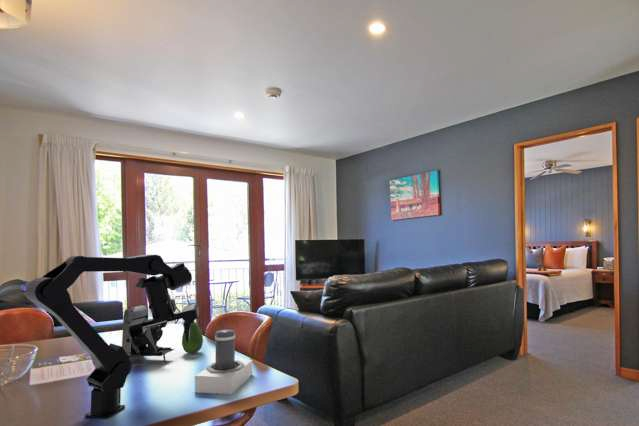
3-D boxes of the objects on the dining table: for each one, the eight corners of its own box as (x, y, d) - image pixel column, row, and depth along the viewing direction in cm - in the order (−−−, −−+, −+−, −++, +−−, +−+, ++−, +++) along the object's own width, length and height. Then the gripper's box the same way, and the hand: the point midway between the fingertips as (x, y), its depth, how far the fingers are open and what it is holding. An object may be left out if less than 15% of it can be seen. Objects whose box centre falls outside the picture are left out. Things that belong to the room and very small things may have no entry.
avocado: (180, 352, 147) (180, 321, 148) (201, 349, 150) (201, 318, 151) (183, 357, 140) (183, 324, 141) (205, 354, 143) (205, 322, 144)
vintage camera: (158, 368, 130) (161, 309, 132) (119, 364, 133) (123, 307, 135) (174, 360, 139) (177, 305, 141) (138, 357, 142) (141, 303, 144)
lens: (225, 384, 109) (225, 334, 110) (210, 380, 112) (210, 332, 113) (239, 378, 114) (239, 330, 115) (225, 374, 117) (225, 328, 118)
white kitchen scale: (231, 394, 104) (231, 375, 104) (195, 392, 106) (195, 373, 106) (252, 374, 120) (252, 358, 120) (220, 373, 122) (220, 356, 122)
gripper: (194, 280, 117) (206, 326, 120) (131, 296, 114) (144, 343, 116) (190, 291, 106) (203, 342, 109) (120, 309, 103) (136, 361, 105)
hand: (172, 346), depth 110 cm, fingers open, 9 cm apart
